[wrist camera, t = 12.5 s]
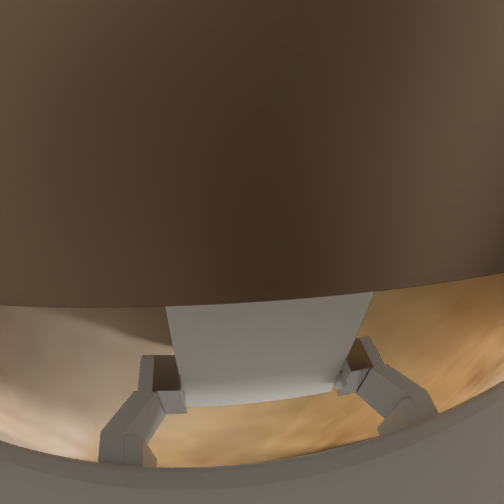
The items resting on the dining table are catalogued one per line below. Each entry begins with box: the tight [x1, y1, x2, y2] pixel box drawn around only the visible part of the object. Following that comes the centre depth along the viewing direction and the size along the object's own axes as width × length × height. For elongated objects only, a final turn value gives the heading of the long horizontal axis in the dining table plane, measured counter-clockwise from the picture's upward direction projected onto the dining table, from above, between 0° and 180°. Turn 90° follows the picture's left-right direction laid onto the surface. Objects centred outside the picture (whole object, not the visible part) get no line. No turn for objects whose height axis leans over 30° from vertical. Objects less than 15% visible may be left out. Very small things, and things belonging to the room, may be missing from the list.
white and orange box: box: [165, 292, 374, 407], centre depth 8 cm, size 6×16×3 cm, turn 177°
